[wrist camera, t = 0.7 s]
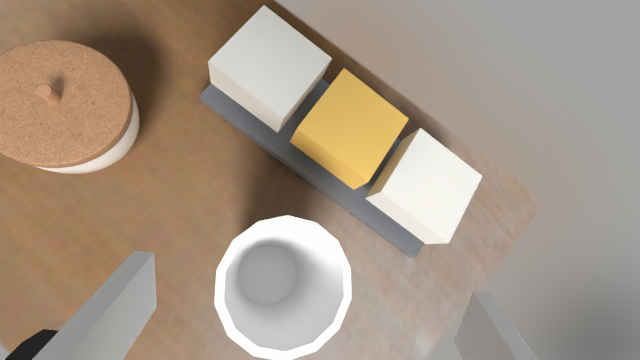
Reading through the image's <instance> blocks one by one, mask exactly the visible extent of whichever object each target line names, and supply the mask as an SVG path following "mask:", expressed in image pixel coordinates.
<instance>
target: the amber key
mask: <svg viewBox="0 0 640 360" xmlns="http://www.w3.org/2000/svg"><path fill="white" fill-rule="evenodd" d="M408 119H409V118H407V117H406V116H405V115H404V114H402V113H401V112H400V111H399V110H397V109H396V108H395V107H393V106H392V105H391V104H390V103H388V102H387V101H386V100H385V99H383V98H382V97H381V96H379V95H378V94H377V93H376V92H374V91H373V90H372V89H371V88H369V87H368V86H367V85H365V84H364V83H363V82H362V81H360V80H359V79H358V78H357V77H355V76H354V75H353V74H351V73H350V72H349V71H348V70H346V69H345V68H344V69H343V70H342V71H341V72H340V74H339V75H338V76H337V78H336V79H335V80H334V81H333V83H332V84H331V85H330V86H329V88H328V89H327V90H326V92H325V93H324V94H323V95H322V97H321V98H320V99H319V101H318V102H317V103H316V104H315V106H314V107H313V108H312V109H311V111H310V112H309V113H308V115H307V116H306V117H305V118H304V120H303V121H302V122H301V124H300V125H299V126H298V127H297V129H296V131H295V133H294V135H293V137H292V138H291V140H290V143H292V144H293V145H294V146H296V147H297V148H298V149H300V150H301V151H302V152H304V153H305V154H306V155H308V156H309V157H310V158H312V159H313V160H314V161H316V162H317V163H318V164H320V165H321V166H322V167H324V168H325V169H326V170H328V171H329V172H330V173H332V174H333V175H334V176H336V177H337V178H338V179H340V180H341V181H342V182H344V183H345V184H346V185H348V186H349V187H350V188H352V189H353V190H354V189H356V188H358V187H360V186H362V185H364V184H366V183H368V182H369V180H370V179H371V177H372V176H373V174H374V173H375V171H376V169H377V168H378V166H379V165H380V163H381V162H382V160H383V158H384V157H385V155H386V154H387V152H388V151H389V149H390V148H391V146H392V144H393V143H394V141H395V140H396V138H397V137H398V135H399V134H400V132H401V130H402V129H403V127H404V126H405V124H406V123H407V121H408Z"/></svg>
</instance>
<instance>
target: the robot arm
mask: <svg viewBox="0 0 640 360" xmlns="http://www.w3.org/2000/svg"><path fill="white" fill-rule="evenodd" d="M156 307H157V305H156V284H155V262H154V253H151V252H142V251H134V252H133V253H132V254H131V255H130V256H129V257H128V258H127V259H126V260H125V261H124V262H123V263H122V264H121V265H120V266H119V268H118V269H117V270H116V271H115V272H114V273H113V274H112V275H111V276H110V277H109V278H108V279H107V280H106V281H105V282H104V284H103V285H102V286H101V287H100V288H99V289H98V290H97V291H96V292H95V293H94V294H93V295H92V296H91V297H90V298H89V299H88V301H87V302H86V303H85V304H84V305H83V306H82V307H81V308H80V309H79V310H78V311H77V312H76V313H75V314H74V315H73V317H72V318H71V319H70V320H69V321H68V322H67V323H66V324H65V325H64V326H63V327H62V328H61V329H60V330H59V331H55V330H46V329H43V330H41V331H40V332H38V333H37V334H35V335H33V336H32V337H30V338H28V339H27V340H25V341H24V342H22V343H21V344H20V345H19V346H18V347H17V348H16V349H15V350H14V351H13V352H12V353H11V354H10V355H9V356H8V357H7V358H6V359H5V360H123V359H124V357H125V356H126V354H127V352H128V351H129V349H130V348H131V346H132V345H133V343H134V342H135V340H136V338H137V337H138V335H139V334H140V332H141V331H142V329H143V328H144V326H145V325H146V323H147V321H148V320H149V318H150V317H151V315H152V314H153V312H154V311H155V309H156ZM455 343H456V346H457V348H458V350H459V352H460V354H461V356H462V359H463V360H538V359H537V358H536V357H535V355H534V354H533V352H532V351H531V349H530V348H529V347H528V345H527V344H526V342H525V341H524V340H523V338H522V337H521V335H520V334H519V333H518V331H517V330H516V328H515V327H514V325H513V324H512V322H511V321H510V320H509V318H508V317H507V315H506V314H505V313H504V311H503V310H502V308H501V307H500V306H499V304H498V303H497V301H496V300H495V298H494V297H493V296H492V294H491V293H483V292H475V291H473V293H472V296H471V299H470V301H469V304H468V306H467V309H466V312H465V314H464V317H463V319H462V322H461V324H460V327H459V330H458V332H457V335H456V337H455Z"/></svg>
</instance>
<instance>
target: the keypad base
mask: <svg viewBox="0 0 640 360" xmlns="http://www.w3.org/2000/svg"><path fill="white" fill-rule="evenodd" d="M329 86H330V84H329V83H327V82H326V81H325V80H323V79H321V80H320V81H319V82H318V84H317V85H316V86H315V87H314V89H313V90H312V91H311V92H310V94H309V95H308V96H307V97H306V99H305V100H304V101H303V102H302V104H301V105H300V106H299V107H298V109H297V110H296V111H295V112H294V114H293V115H292V116H291V117H290V119H289V120H288V121H287V122H286V124H285V125H284V126H283V127H282V128H281V130H280V131H279V132H278V133H277V132H276V131H274V130H273V129H272V128H270V127H269V126H268V125H266V124H265V123H264V122H262V121H261V120H260V119H258V118H257V117H256V116H254V115H253V114H252V113H250V112H249V111H248V110H246V109H245V108H244V107H242V106H241V105H240V104H238V103H237V102H236V101H234V100H233V99H232V98H230V97H229V96H228V95H226V94H225V93H224V92H222V91H221V90H220V89H218V88H217V87H216V86H214V85H213V84H212V83H211V84H210V85H209V86H208V87H207V88H206V89H205V90H204V91H203V92H202V93H201V94H200V95H199V99H200V102H201V103H202V104H204V105H205V106H206V107H208V108H209V109H210V110H212V111H213V112H214V113H216V114H217V115H219V116H220V117H221V118H223V119H224V120H225V121H227V122H228V123H229V124H231V125H232V126H233V127H235V128H236V129H237V130H239V131H240V132H241V133H243V134H244V135H246V136H247V137H248V138H250V139H251V140H252V141H254V142H255V143H256V144H258V145H259V146H260V147H262V148H263V149H264V150H266V151H267V152H268V153H270V154H271V155H272V156H274V157H275V158H277V159H278V160H279V161H281V162H282V163H283V164H285V165H286V166H287V167H289V168H290V169H291V170H293V171H294V172H295V173H297V174H298V175H299V176H301V177H302V178H304V179H305V180H306V181H308V182H309V183H310V184H312V185H313V186H314V187H316V188H317V189H318V190H320V191H321V192H322V193H324V194H325V195H326V196H328V197H329V198H330V199H332V200H333V201H335V202H336V203H337V204H339V205H340V206H341V207H343V208H344V209H345V210H347V211H348V212H349V213H351V214H352V215H353V216H355V217H356V218H357V219H359V220H360V221H362V222H363V223H364V224H366V225H367V226H368V227H370V228H371V229H372V230H374V231H375V232H376V233H378V234H379V235H380V236H382V237H383V238H384V239H386V240H387V241H388V242H390V243H391V244H393V245H394V246H395V247H397V248H398V249H399V250H401V251H402V252H403V253H405V254H406V255H407V256H409V257H417V255H418V253H419V251H420V249H421V248H422V246H423V244H424V242H423V241H421V240H420V239H419V238H417V237H416V236H415V235H413V234H412V233H411V232H409V231H408V230H407V229H405V228H404V227H403V226H401V225H400V224H399V223H397V222H396V221H395V220H393V219H392V218H391V217H389V216H388V215H387V214H385V213H384V212H383V211H381V210H380V209H379V208H377V207H376V206H375V205H373V204H372V203H371V202H369V201H368V200H367V199H365V198H366V196H367V194H368V193H369V191H370V190H371V188H372V186H373V185H374V183H375V182H376V180H377V179H378V177H379V175H380V174H381V172H382V171H383V169H384V168H385V166H386V164H387V163H388V161H389V160H390V158H391V156H392V155H393V153H394V152H395V150H396V149H397V147H398V145H399V144H400V142H401V141H402V140H401V139H399V138H398V137H397V138H396V140H395V141H394V143H393V144H392V146H391V148H390V149H389V151H388V152H387V154H386V155H385V157H384V158H383V160H382V162H381V163H380V165H379V166H378V168H377V169H376V171H375V173H374V174H373V176H372V177H371V179H370V180H369V182H368V183H366V184H364V185H362V186H360V187H358V188H356V189H354V190H353V189H352V188H350V187H349V186H348V185H346V184H345V183H344V182H342V181H341V180H340V179H338V178H337V177H336V176H334V175H333V174H332V173H330V172H329V171H328V170H326V169H325V168H324V167H322V166H321V165H320V164H318V163H317V162H316V161H314V160H313V159H312V158H310V157H309V156H308V155H306V154H305V153H304V152H302V151H301V150H300V149H298V148H297V147H296V146H294V145H293V144H292V143H290V140H291V138H292V137H293V135H294V133H295V131H296V129H297V127H298V126H299V125H300V124H301V122H302V121H303V120H304V118H305V117H306V116H307V115H308V113H309V112H310V111H311V109H312V108H313V107H314V106H315V104H316V103H317V102H318V101H319V99H320V98H321V97H322V95H323V94H324V93H325V92H326V90H327V89H328V88H329Z"/></svg>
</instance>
